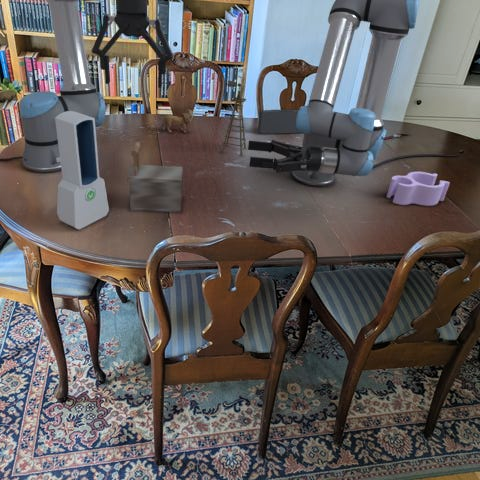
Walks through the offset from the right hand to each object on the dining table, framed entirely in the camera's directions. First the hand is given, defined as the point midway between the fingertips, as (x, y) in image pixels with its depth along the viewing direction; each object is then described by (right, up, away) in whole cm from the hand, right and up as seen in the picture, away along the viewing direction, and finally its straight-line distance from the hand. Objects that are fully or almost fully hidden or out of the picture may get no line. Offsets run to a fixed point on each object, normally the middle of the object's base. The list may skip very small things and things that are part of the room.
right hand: (249, 153), depth 138 cm
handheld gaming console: (+16, +22, +70) cm, 75 cm away
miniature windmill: (-5, +10, +47) cm, 49 cm away
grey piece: (-28, -7, 0) cm, 28 cm away
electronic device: (-47, -20, -5) cm, 51 cm away
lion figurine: (-29, +20, +60) cm, 69 cm away
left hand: (-31, +15, -14) cm, 37 cm away
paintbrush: (+66, +20, +75) cm, 102 cm away
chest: (-28, -15, +6) cm, 32 cm away
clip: (+58, -11, +26) cm, 65 cm away
